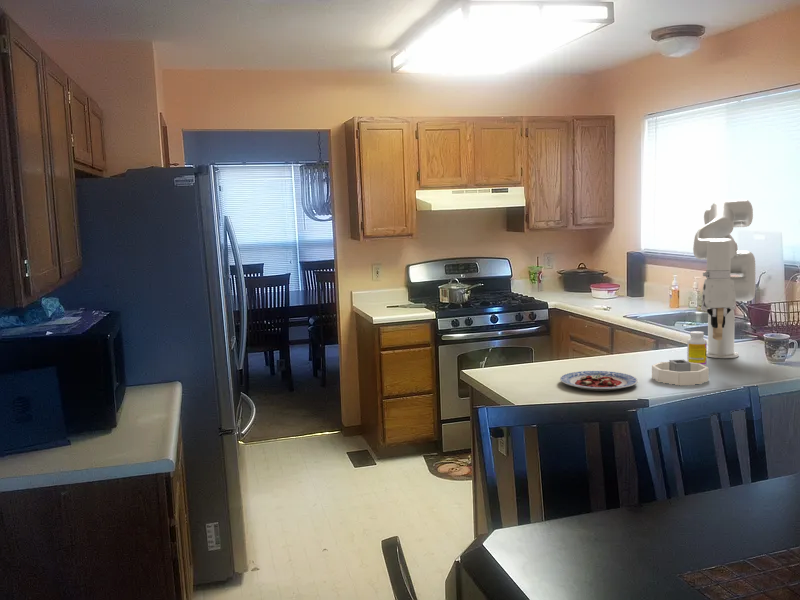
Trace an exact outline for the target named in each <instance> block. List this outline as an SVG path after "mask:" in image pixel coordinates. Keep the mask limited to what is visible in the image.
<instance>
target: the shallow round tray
mask: <svg viewBox="0 0 800 600" xmlns="http://www.w3.org/2000/svg"><path fill="white" fill-rule="evenodd" d="M709 370H710V369H709V367H708V366H707V365H706V366H704V365H702V364H699V363H691V362H687V360H685V359H669V361H659V362H658V363H653V364H652V365H651V379H653V380H654V379H655V380H654V381H656V382H657V381H658V383H659V382H663V383H662V384H665V383H669V384H668V385H672V384H675V385H674V386H679V385H680V386H696V385H695V384H701V385H703V384H705V383H706V382H709V380H710V379H709V378H710V377H709V376H710V375H709V374H710V373H709ZM704 382H705V383H704ZM702 383H703V384H702Z"/></svg>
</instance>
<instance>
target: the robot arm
mask: <svg viewBox="0 0 800 600" xmlns="http://www.w3.org/2000/svg"><path fill="white" fill-rule="evenodd" d="M753 211H754V208H753V206H752V203H751V202H750V201H749V200H748V199H745V198H744V199H743V198H741V199H740V198H738V199H721V200H717V201H715V202H714V203H712V204H711V206H710V208H707V209H705V211H704V213H703V221H704V225H703V226H702V227H701V228H699V229H698V230H697V232H695V235H694V238H693V239H694V240H693V248H692V250H693V256H694V257H695V258H696V260H697V259H698V260H702V261H703V260H705V261H706V271H705V272H702V276H703V277H705V278H706V279H704V282H703V286H702V294H701V306H700V310H701V311H704V312H706V313H707V316H708V317H707V357H708V358H712V359H713V358H714V359H735V358H738V357H739V352H737V351H735V324H736V323H735V321H736V320H735V317H736V315H735V311H734V310H736V309H737V306H736V303H737V302H749V301H752V300H753V299H755V296H756V258H755V255H754V253H753V252H752V251H749V250H738V247H739V246H738V243H737V242H736V241H735V239H734V237H733V236H732V235H731V233H732V232H733V230H734V228H747V227H749V226H750V225H751V224H752V223H753V218H754V212H753ZM716 308H724V312H723V324H722V328H723V331H722V340H715V339H714V338H713V327H714V328H718V323H717V317H716Z"/></svg>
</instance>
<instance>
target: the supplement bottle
mask: <svg viewBox="0 0 800 600" xmlns="http://www.w3.org/2000/svg"><path fill="white" fill-rule="evenodd" d="M689 335H690V338H688V339H687V348H686V349H687V352H686V353H687V360H686V361H687V362H691V363H699V364H702V365H704V366H706V367H707V359H708V358H707V351H708V341H707V340H706V339H705V338H704V335H705V332H704V331H700V330H699V331H697V330H696V331H695V330H694V331H690V334H689Z"/></svg>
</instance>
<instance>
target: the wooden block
mask: <svg viewBox="0 0 800 600" xmlns="http://www.w3.org/2000/svg"><path fill="white" fill-rule="evenodd" d="M723 312H724V308H716V317H717V323H718V328H714V327H713V338H714V339H715V340H722V331H723V328H722V324H723Z"/></svg>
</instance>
